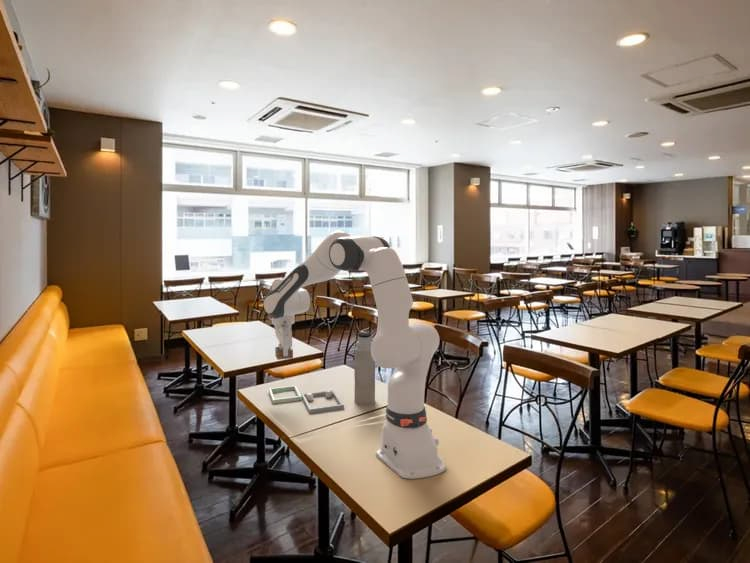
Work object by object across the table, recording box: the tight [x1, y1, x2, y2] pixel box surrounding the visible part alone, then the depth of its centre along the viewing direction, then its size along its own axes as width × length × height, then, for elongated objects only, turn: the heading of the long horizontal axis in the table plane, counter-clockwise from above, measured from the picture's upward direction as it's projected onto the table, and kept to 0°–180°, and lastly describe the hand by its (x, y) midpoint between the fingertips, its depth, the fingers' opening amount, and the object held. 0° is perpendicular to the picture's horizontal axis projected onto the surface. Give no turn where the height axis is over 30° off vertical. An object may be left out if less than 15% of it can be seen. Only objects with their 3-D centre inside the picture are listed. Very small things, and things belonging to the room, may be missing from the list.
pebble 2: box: [324, 390, 333, 399], centre depth 176 cm, size 3×3×3 cm
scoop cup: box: [274, 346, 294, 361], centre depth 175 cm, size 6×6×4 cm
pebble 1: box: [306, 392, 314, 402], centre depth 173 cm, size 3×3×3 cm
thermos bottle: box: [353, 332, 376, 406], centre depth 171 cm, size 8×8×28 cm
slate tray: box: [300, 389, 345, 414], centre depth 171 cm, size 16×13×2 cm
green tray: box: [268, 385, 302, 404], centre depth 178 cm, size 13×11×2 cm
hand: (284, 353), depth 176 cm, fingers closed on scoop cup, 6 cm apart
